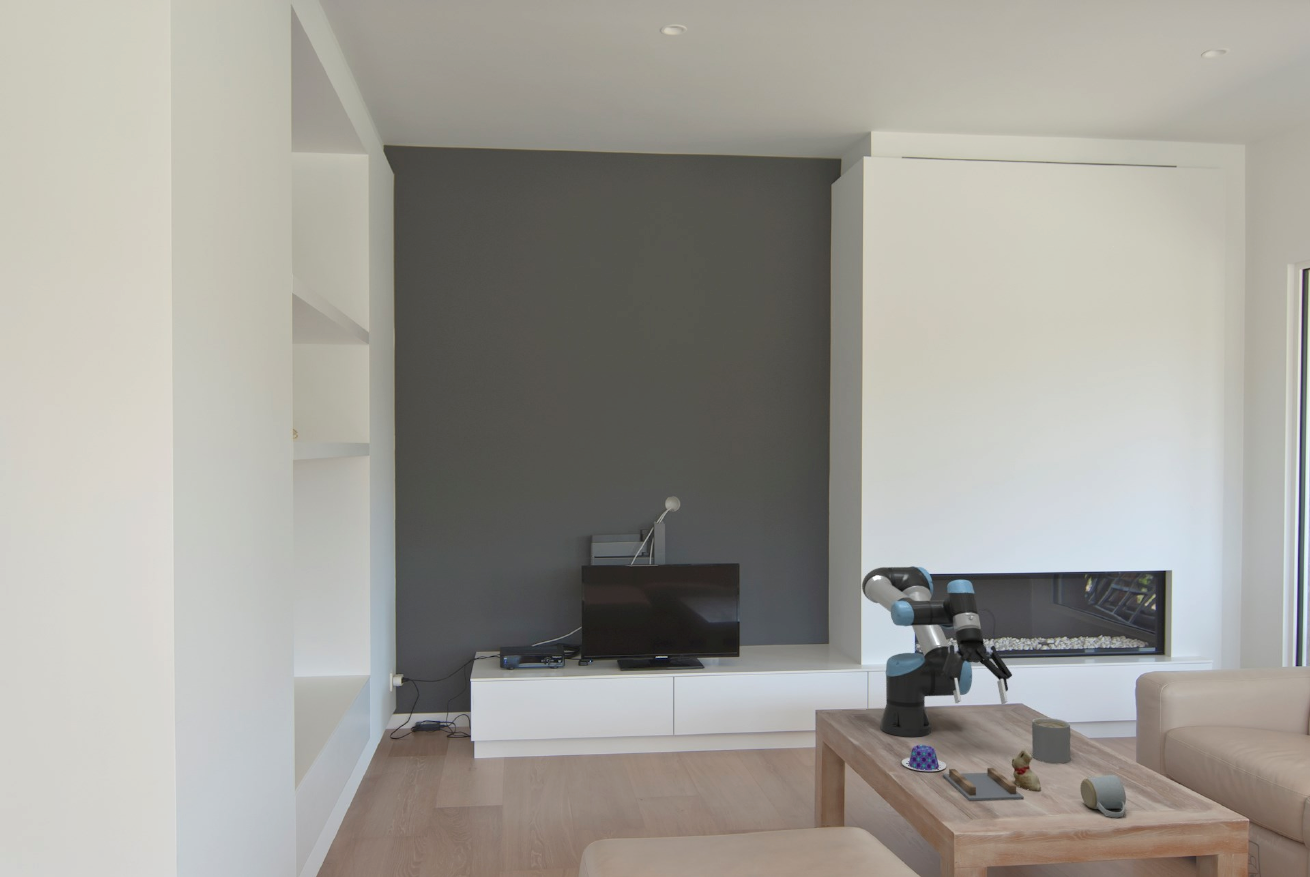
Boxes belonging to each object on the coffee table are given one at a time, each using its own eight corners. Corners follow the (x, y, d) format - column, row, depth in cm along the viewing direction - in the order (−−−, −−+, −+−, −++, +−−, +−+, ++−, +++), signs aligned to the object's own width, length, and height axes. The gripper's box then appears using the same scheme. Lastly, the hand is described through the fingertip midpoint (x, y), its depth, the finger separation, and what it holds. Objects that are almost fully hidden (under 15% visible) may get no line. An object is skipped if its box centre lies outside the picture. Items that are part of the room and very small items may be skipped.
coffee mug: (1051, 765, 263) (1051, 729, 263) (1024, 755, 272) (1024, 720, 273) (1087, 759, 269) (1086, 723, 269) (1059, 749, 278) (1059, 714, 278)
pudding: (893, 761, 268) (893, 743, 268) (931, 758, 271) (931, 739, 271) (915, 775, 256) (915, 756, 257) (954, 771, 259) (954, 752, 260)
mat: (942, 776, 255) (942, 774, 255) (993, 774, 256) (993, 772, 256) (969, 800, 237) (969, 798, 237) (1023, 799, 238) (1023, 796, 238)
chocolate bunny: (1030, 780, 251) (1030, 743, 251) (1043, 791, 243) (1043, 752, 244) (1010, 781, 251) (1009, 743, 251) (1022, 791, 243) (1021, 752, 243)
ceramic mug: (1078, 802, 236) (1078, 771, 236) (1109, 801, 236) (1109, 770, 236) (1101, 819, 225) (1101, 787, 225) (1134, 818, 226) (1134, 786, 226)
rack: (949, 776, 253) (949, 768, 253) (992, 775, 254) (992, 767, 254) (970, 795, 239) (970, 787, 239) (1016, 794, 240) (1016, 786, 240)
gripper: (931, 625, 277) (943, 697, 266) (1014, 627, 279) (1029, 699, 268) (923, 634, 283) (934, 705, 272) (1004, 636, 285) (1018, 706, 274)
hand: (981, 702), depth 270 cm, fingers open, 13 cm apart
